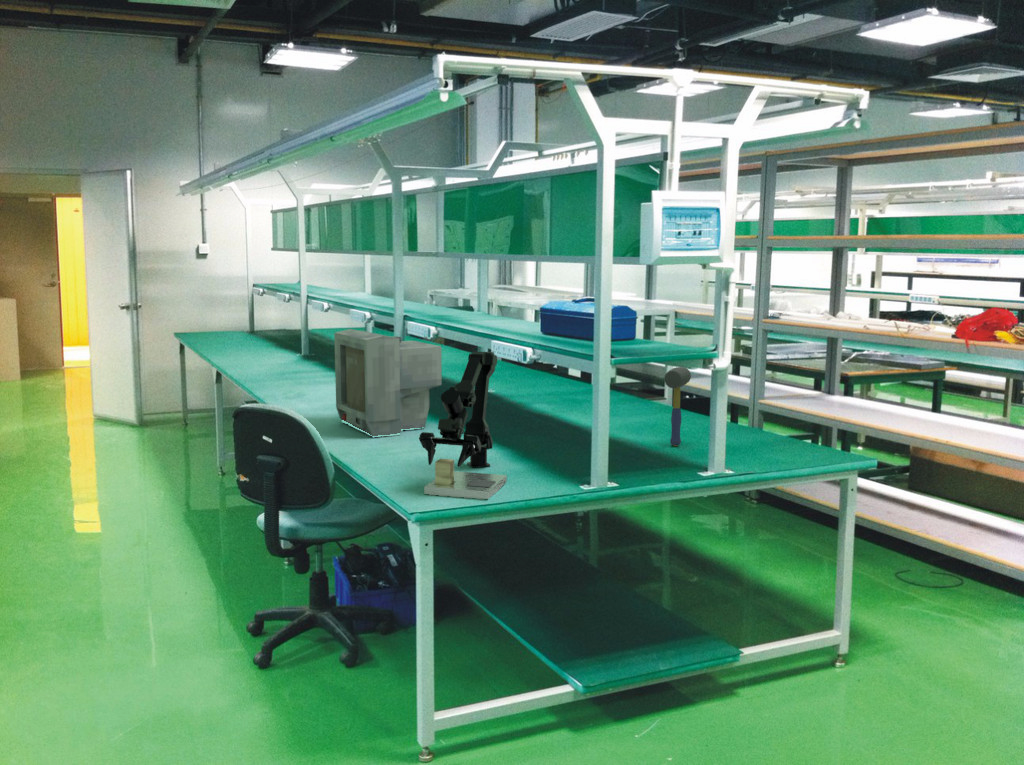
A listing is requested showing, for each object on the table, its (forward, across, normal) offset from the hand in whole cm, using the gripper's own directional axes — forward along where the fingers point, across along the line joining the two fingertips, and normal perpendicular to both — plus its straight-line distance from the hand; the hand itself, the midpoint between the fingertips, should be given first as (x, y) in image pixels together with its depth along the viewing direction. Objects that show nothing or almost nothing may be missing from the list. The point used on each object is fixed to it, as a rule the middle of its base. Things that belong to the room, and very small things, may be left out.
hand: (443, 465), depth 262 cm
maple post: (+5, 0, +6) cm, 8 cm away
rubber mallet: (-54, +63, +66) cm, 106 cm away
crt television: (-58, -54, +69) cm, 105 cm away
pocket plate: (+2, +6, +10) cm, 11 cm away
